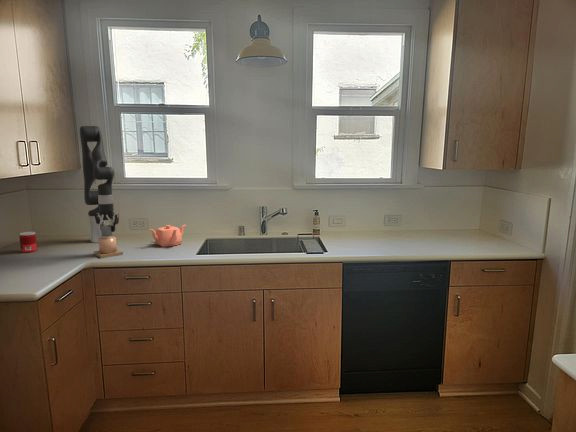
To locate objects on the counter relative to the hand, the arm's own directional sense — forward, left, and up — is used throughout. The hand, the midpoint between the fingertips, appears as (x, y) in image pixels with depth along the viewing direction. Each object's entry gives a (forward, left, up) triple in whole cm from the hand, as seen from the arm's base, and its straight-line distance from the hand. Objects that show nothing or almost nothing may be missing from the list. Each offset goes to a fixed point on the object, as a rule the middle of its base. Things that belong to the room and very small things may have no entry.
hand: (108, 231), depth 216 cm
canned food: (-35, -33, -14) cm, 50 cm away
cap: (+1, -1, -2) cm, 2 cm away
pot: (+3, +36, -14) cm, 38 cm away
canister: (+1, -1, -13) cm, 13 cm away
